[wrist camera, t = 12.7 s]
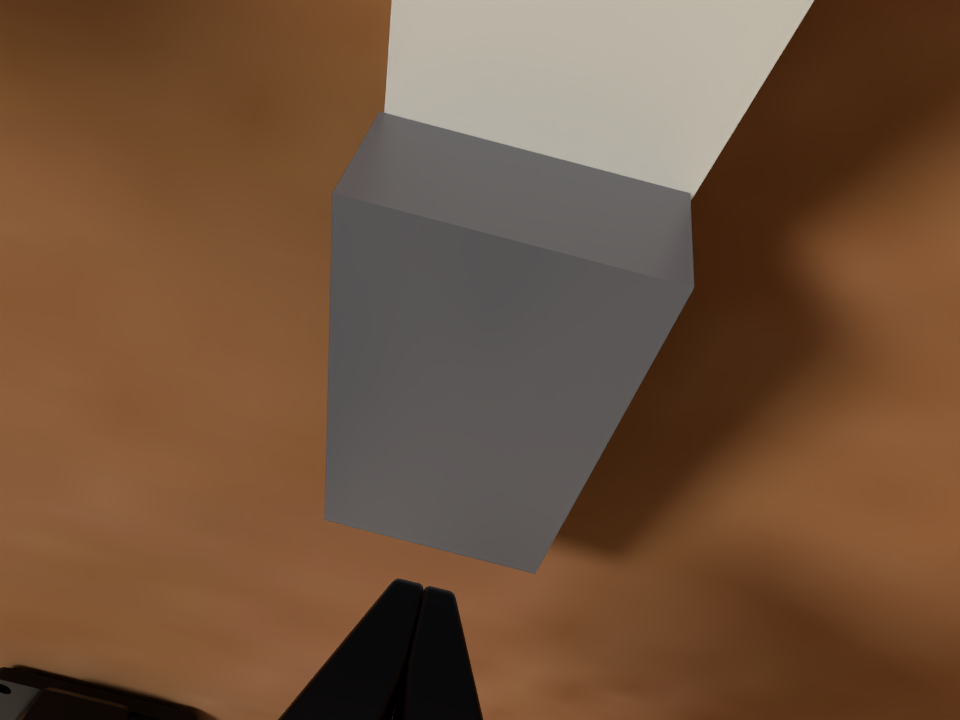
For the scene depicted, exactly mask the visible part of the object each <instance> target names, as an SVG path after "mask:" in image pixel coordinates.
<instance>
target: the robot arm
mask: <svg viewBox="0 0 960 720" xmlns="http://www.w3.org/2000/svg"><path fill="white" fill-rule="evenodd" d="M422 594H423V595H422ZM421 598H422V599H421ZM393 713H394V714H393ZM392 717H393V718H392ZM0 720H198V719H197V718H196V717H195V716H194V715H193V714H191V713H189V712H187V711H184V710H180V709H176V708H172V707H168V706H164V705H160V704H155V703H151V702H147V701H143V700H139V699H135V698H131V697H127V696H123V695H119V694H114V693H110V692H106V691H102V690H98V689H94V688H90V687H86V686H82V685H78V684H73V683H69V682H65V681H61V680H57V679H53V678H49V677H45V676H41V675H37V674H32V673H28V672H24V671H20V670H16V669H12V668H6V667H3V668H0ZM278 720H483V716H482V712H481V708H480V703H479V699H478V694H477V690H476V686H475V681H474V677H473V672H472V668H471V664H470V659H469V655H468V650H467V646H466V642H465V637H464V633H463V628H462V624H461V619H460V615H459V611H458V606H457V602H456V598H455V596H454V594H453V593H452V592H451V591H448V590H444V589H440V588H435V587H431V586H428V587H426V588H425V589H424V591H423V586H422V585H421V584H419V583H415V582H411V581H407V580H403V579H396V580H394V581H393V582H392V583H391V584H390V585H389V586H388V588H387V589H386V590H385V591H384V592H383V594H382V595H381V596H380V597H379V598H378V600H377V601H376V602H375V603H374V604H373V606H372V607H371V608H370V609H369V610H368V612H367V613H366V614H365V615H364V617H363V618H362V619H361V620H360V621H359V623H358V624H357V625H356V626H355V627H354V629H353V630H352V631H351V632H350V633H349V635H348V636H347V637H346V638H345V639H344V641H343V642H342V643H341V644H340V646H339V647H338V648H337V649H336V650H335V652H334V653H333V654H332V655H331V656H330V658H329V659H328V660H327V661H326V662H325V664H324V665H323V666H322V667H321V668H320V670H319V671H318V672H317V673H316V675H315V676H314V677H313V678H312V679H311V681H310V682H309V683H308V684H307V685H306V687H305V688H304V689H303V690H302V691H301V693H300V694H299V695H298V696H297V697H296V699H295V700H294V701H293V702H292V703H291V705H290V706H289V707H288V708H287V710H286V711H285V712H284V713H283V714H282V716H281V717H280V718H279V719H278Z"/></svg>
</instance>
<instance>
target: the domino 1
mask: <svg viewBox="0 0 960 720" xmlns="http://www.w3.org/2000/svg"><path fill="white" fill-rule="evenodd" d="M813 2H814V0H392V5H391V20H390V35H389V50H388V65H387V80H386V95H385V110H384V113H387V114H391V115H395V116H398V117H402V118H406V119H410V120H414V121H417V122H421V123H425V124H429V125H433V126H436V127H440V128H444V129H448V130H452V131H455V132H459V133H463V134H467V135H471V136H474V137H478V138H482V139H486V140H490V141H494V142H497V143H501V144H505V145H509V146H513V147H516V148H520V149H524V150H528V151H532V152H535V153H539V154H543V155H547V156H551V157H554V158H558V159H562V160H566V161H570V162H573V163H577V164H581V165H585V166H589V167H592V168H596V169H600V170H604V171H608V172H611V173H615V174H619V175H623V176H627V177H630V178H634V179H638V180H642V181H646V182H649V183H653V184H657V185H661V186H665V187H668V188H672V189H676V190H680V191H684V192H687V193H690V199H691V200H692V198H693V197H694V195H695V193H696V192H697V190H698V189H699V187H700V185H701V184H702V182H703V180H704V179H705V177H706V176H707V174H708V172H709V171H710V169H711V167H712V166H713V164H714V163H715V161H716V159H717V158H718V156H719V154H720V153H721V151H722V150H723V148H724V146H725V145H726V143H727V141H728V140H729V138H730V137H731V135H732V133H733V132H734V130H735V128H736V127H737V125H738V124H739V122H740V120H741V119H742V117H743V115H744V114H745V112H746V111H747V109H748V107H749V106H750V104H751V102H752V101H753V99H754V98H755V96H756V94H757V93H758V91H759V89H760V88H761V86H762V85H763V83H764V81H765V80H766V78H767V76H768V75H769V73H770V72H771V70H772V68H773V67H774V65H775V63H776V62H777V60H778V59H779V57H780V55H781V54H782V52H783V50H784V49H785V47H786V46H787V44H788V42H789V41H790V39H791V37H792V36H793V34H794V33H795V31H796V29H797V28H798V26H799V24H800V23H801V21H802V20H803V18H804V16H805V15H806V13H807V11H808V10H809V8H810V7H811V5H812V3H813Z"/></svg>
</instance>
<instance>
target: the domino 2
mask: <svg viewBox="0 0 960 720" xmlns="http://www.w3.org/2000/svg"><path fill="white" fill-rule="evenodd" d="M693 289H694V269H693V246H692V223H691V199H690V193H687V192H684V191H680V190H676V189H672V188H668V187H665V186H661V185H657V184H653V183H649V182H646V181H642V180H638V179H634V178H630V177H627V176H623V175H619V174H615V173H611V172H608V171H604V170H600V169H596V168H592V167H589V166H585V165H581V164H577V163H573V162H570V161H566V160H562V159H558V158H554V157H551V156H547V155H543V154H539V153H535V152H532V151H528V150H524V149H520V148H516V147H513V146H509V145H505V144H501V143H497V142H494V141H490V140H486V139H482V138H478V137H474V136H471V135H467V134H463V133H459V132H455V131H452V130H448V129H444V128H440V127H436V126H433V125H429V124H425V123H421V122H417V121H414V120H410V119H406V118H402V117H398V116H395V115H391V114H387V113H383V112H379V114H378V115H377V117H376V119H375V120H374V122H373V124H372V126H371V127H370V129H369V131H368V133H367V134H366V136H365V138H364V140H363V141H362V143H361V145H360V146H359V148H358V150H357V152H356V153H355V155H354V157H353V159H352V160H351V162H350V164H349V165H348V167H347V169H346V171H345V172H344V174H343V176H342V178H341V179H340V181H339V183H338V185H337V186H336V188H335V190H334V191H333V197H332V239H331V280H330V321H329V362H328V403H327V444H326V485H325V520H327V521H331V522H335V523H339V524H342V525H346V526H350V527H354V528H358V529H362V530H366V531H370V532H374V533H378V534H381V535H385V536H389V537H393V538H397V539H401V540H405V541H409V542H413V543H417V544H420V545H424V546H428V547H432V548H436V549H440V550H444V551H448V552H452V553H456V554H459V555H463V556H467V557H471V558H475V559H479V560H483V561H487V562H491V563H495V564H498V565H502V566H506V567H510V568H514V569H518V570H522V571H526V572H530V573H534V574H535V573H536V571H537V569H538V568H539V566H540V564H541V562H542V560H543V559H544V557H545V555H546V553H547V551H548V550H549V548H550V546H551V544H552V542H553V541H554V539H555V537H556V535H557V533H558V532H559V530H560V528H561V526H562V524H563V523H564V521H565V519H566V517H567V515H568V514H569V512H570V510H571V508H572V507H573V505H574V503H575V501H576V499H577V498H578V496H579V494H580V492H581V490H582V489H583V487H584V485H585V483H586V481H587V480H588V478H589V476H590V474H591V472H592V471H593V469H594V467H595V465H596V463H597V462H598V460H599V458H600V456H601V454H602V453H603V451H604V449H605V447H606V445H607V444H608V442H609V440H610V438H611V436H612V435H613V433H614V431H615V429H616V427H617V426H618V424H619V422H620V420H621V418H622V417H623V415H624V413H625V411H626V409H627V408H628V406H629V404H630V402H631V400H632V399H633V397H634V395H635V393H636V391H637V390H638V388H639V386H640V384H641V382H642V381H643V379H644V377H645V375H646V374H647V372H648V370H649V368H650V366H651V365H652V363H653V361H654V359H655V357H656V356H657V354H658V352H659V350H660V348H661V347H662V345H663V343H664V341H665V339H666V338H667V336H668V334H669V332H670V330H671V329H672V327H673V325H674V323H675V321H676V320H677V318H678V316H679V314H680V312H681V311H682V309H683V307H684V305H685V303H686V302H687V300H688V298H689V296H690V294H691V293H692V291H693Z"/></svg>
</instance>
